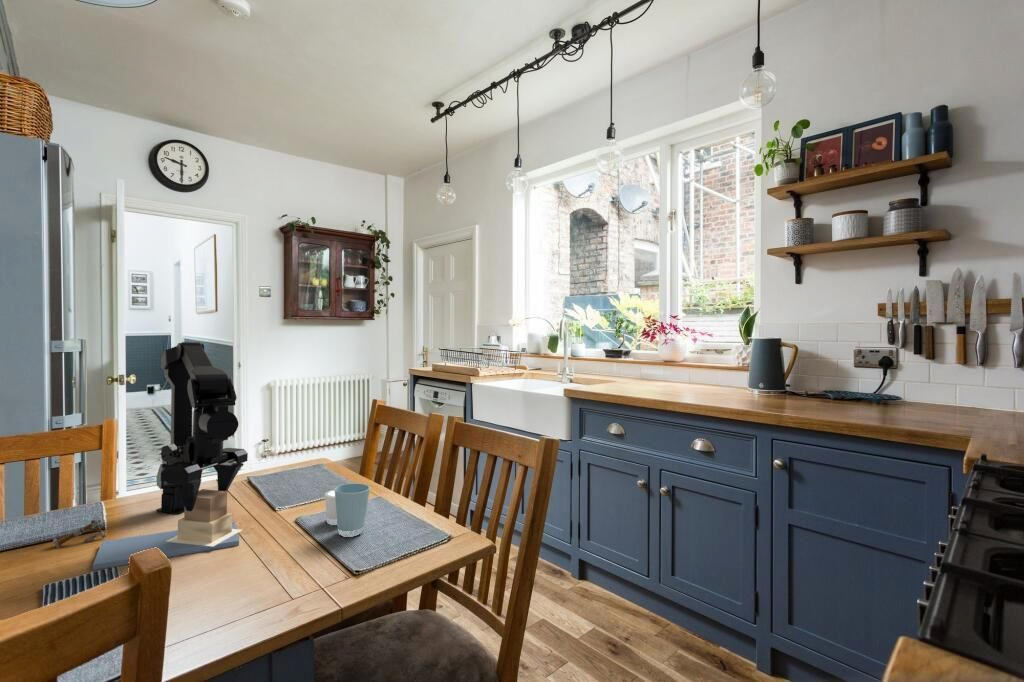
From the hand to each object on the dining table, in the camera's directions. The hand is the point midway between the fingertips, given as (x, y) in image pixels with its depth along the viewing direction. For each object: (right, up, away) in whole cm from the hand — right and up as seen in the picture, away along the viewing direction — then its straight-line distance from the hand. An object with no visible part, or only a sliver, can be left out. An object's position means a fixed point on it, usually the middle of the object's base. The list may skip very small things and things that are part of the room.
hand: (206, 503), depth 108 cm
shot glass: (+24, -9, +14) cm, 29 cm away
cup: (+29, -9, +7) cm, 31 cm away
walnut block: (0, -3, 0) cm, 3 cm away
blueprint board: (-5, -8, -3) cm, 10 cm away
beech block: (0, -7, 0) cm, 7 cm away
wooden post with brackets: (-25, -7, -3) cm, 26 cm away
